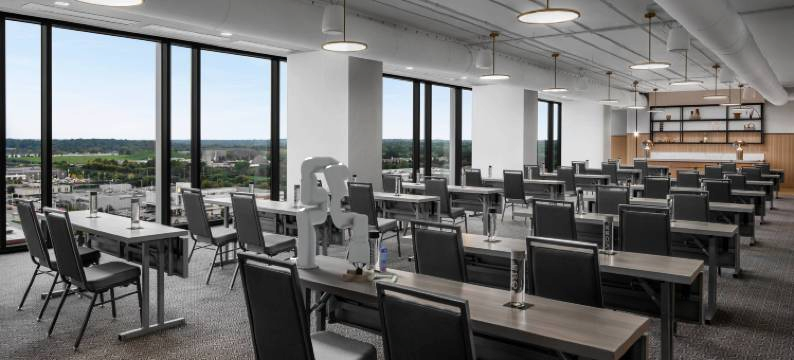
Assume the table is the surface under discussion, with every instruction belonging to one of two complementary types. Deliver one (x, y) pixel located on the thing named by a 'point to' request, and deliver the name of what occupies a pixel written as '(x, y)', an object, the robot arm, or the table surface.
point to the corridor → (354, 276)
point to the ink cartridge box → (382, 258)
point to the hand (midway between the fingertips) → (359, 275)
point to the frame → (386, 277)
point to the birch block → (369, 274)
